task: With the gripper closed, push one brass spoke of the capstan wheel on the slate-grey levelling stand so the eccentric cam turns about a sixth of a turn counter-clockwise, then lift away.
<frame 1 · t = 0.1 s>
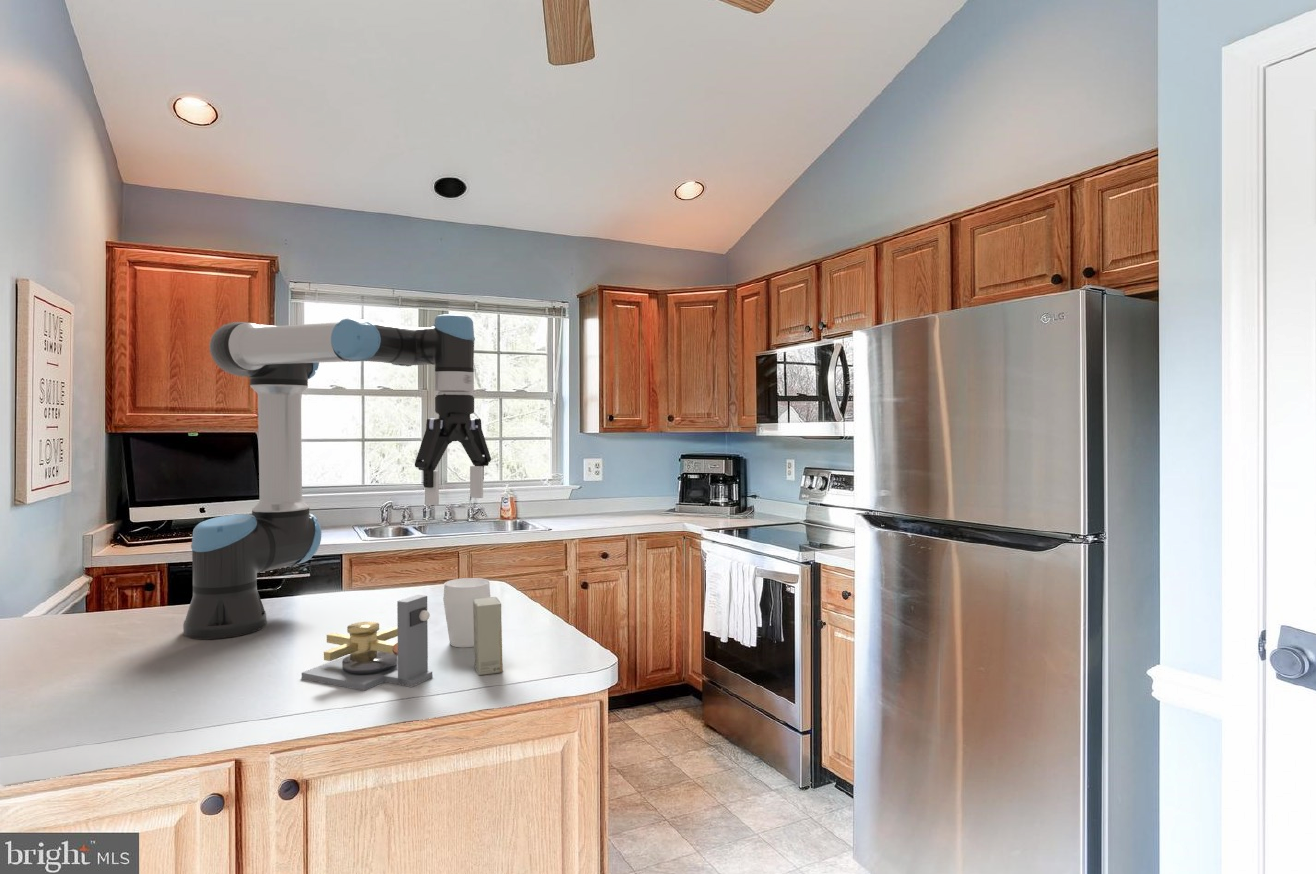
hand: (455, 501, 150), 28 cm above the counter, fingers open, 13 cm apart
stand: (363, 671, 132), on the counter
skincare box: (487, 670, 134), on the counter
cup: (467, 643, 149), on the counter
capstan: (365, 645, 132), point 5 cm above the counter, hinge at 0.0°
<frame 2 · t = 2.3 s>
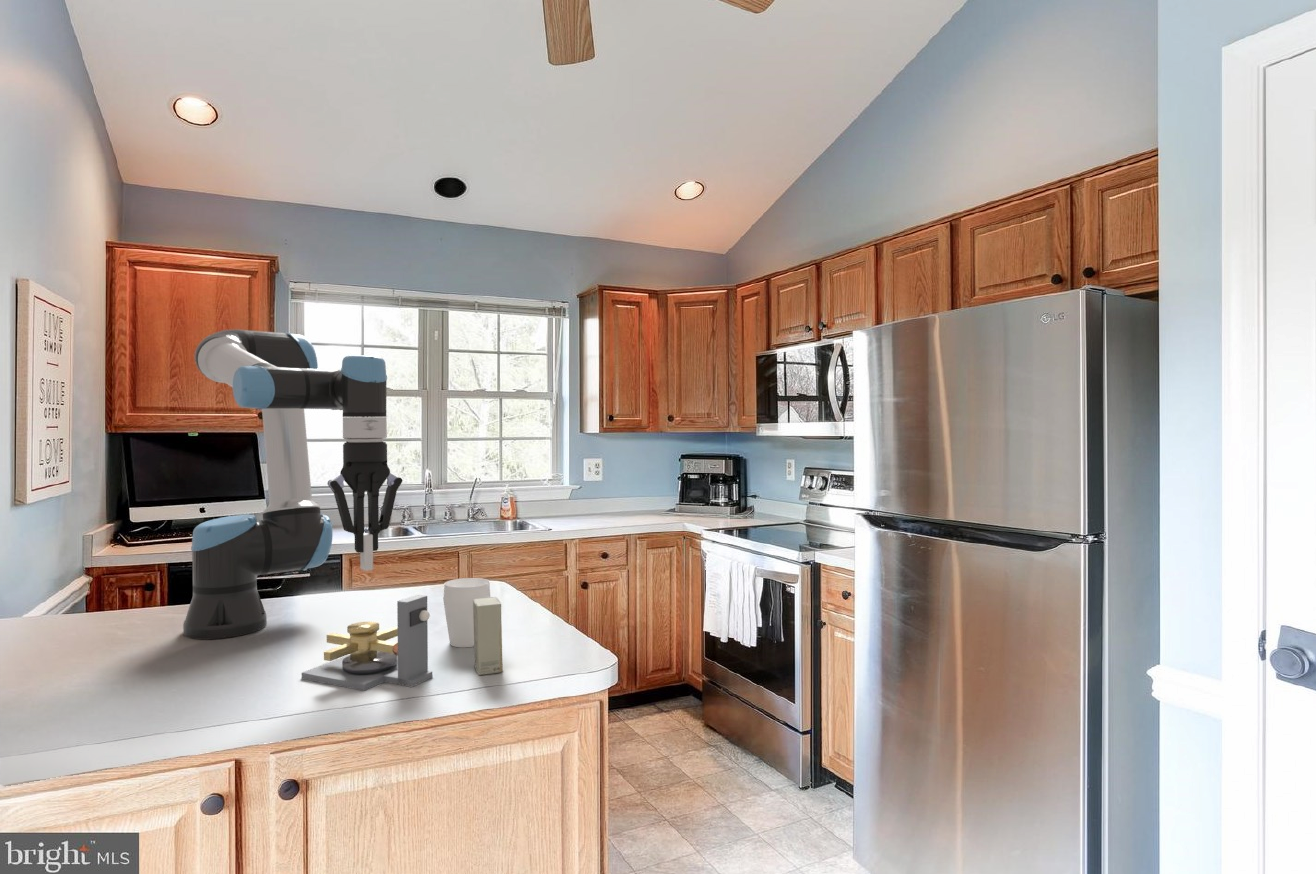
hand: (366, 569, 138), 17 cm above the counter, fingers closed
nothing on the counter moved.
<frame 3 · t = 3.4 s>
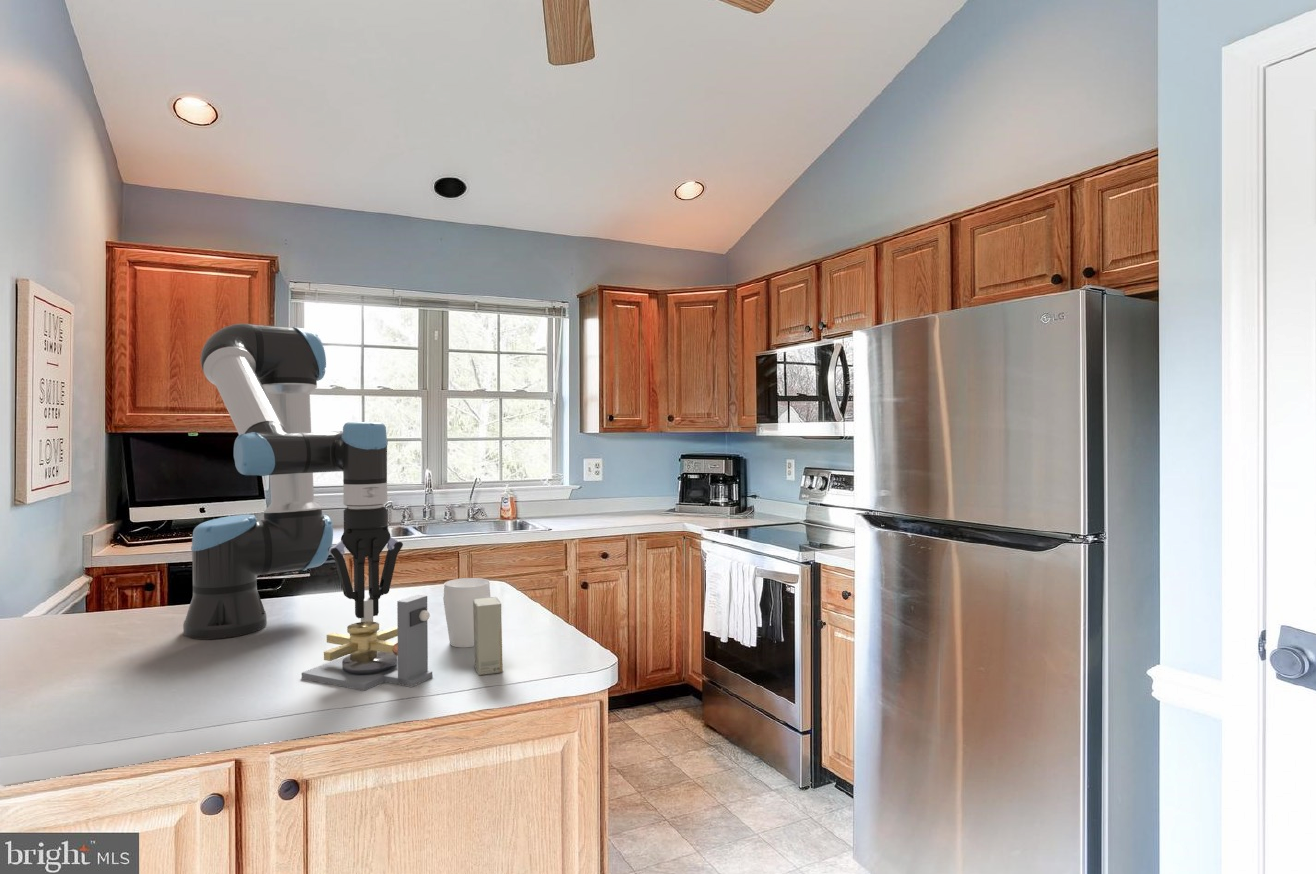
hand: (367, 634, 138), 5 cm above the counter, fingers closed
nothing on the counter moved.
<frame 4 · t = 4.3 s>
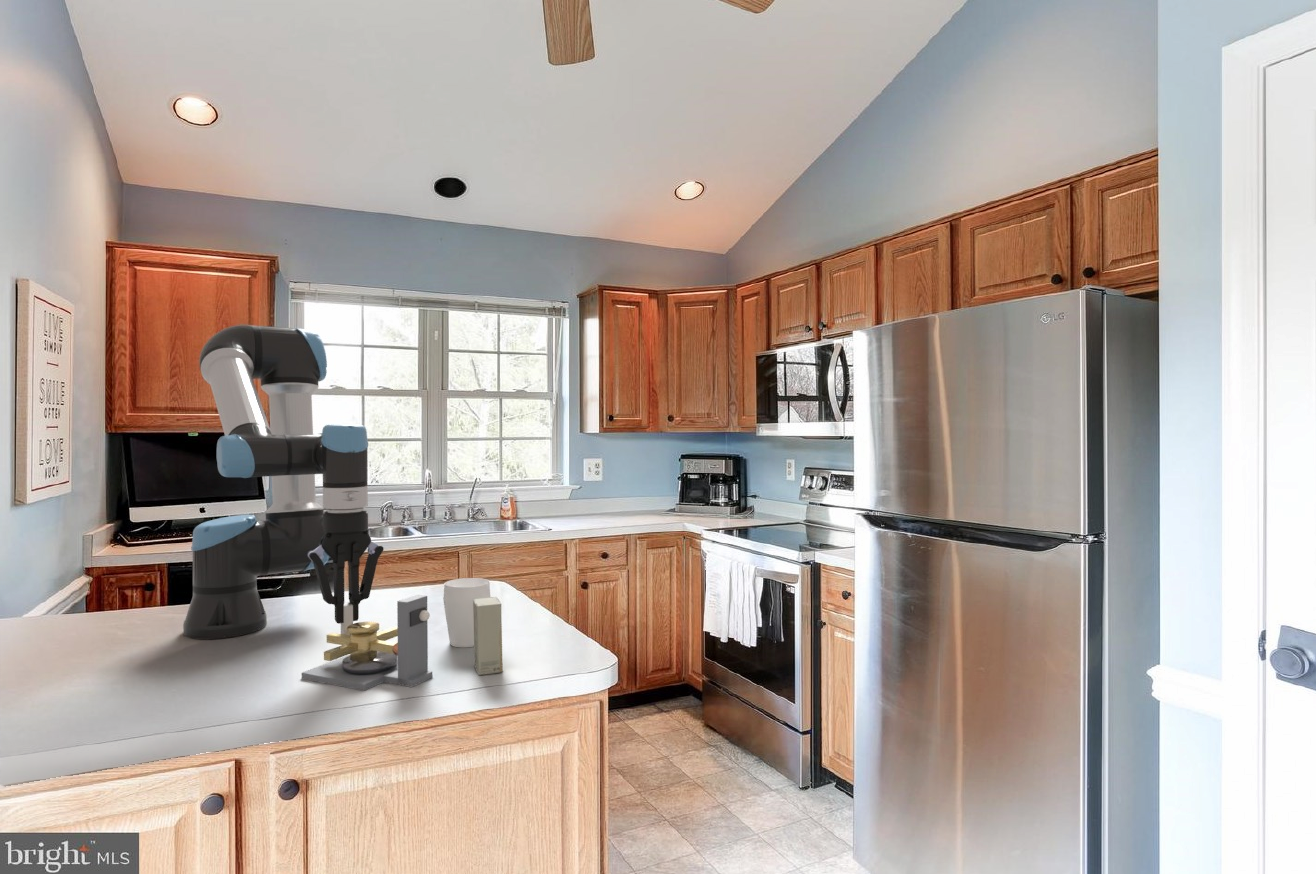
hand: (346, 639, 136), 4 cm above the counter, fingers closed
capstan: (365, 645, 132), point 5 cm above the counter, hinge at 0.0°, touching gripper
everything else where it was.
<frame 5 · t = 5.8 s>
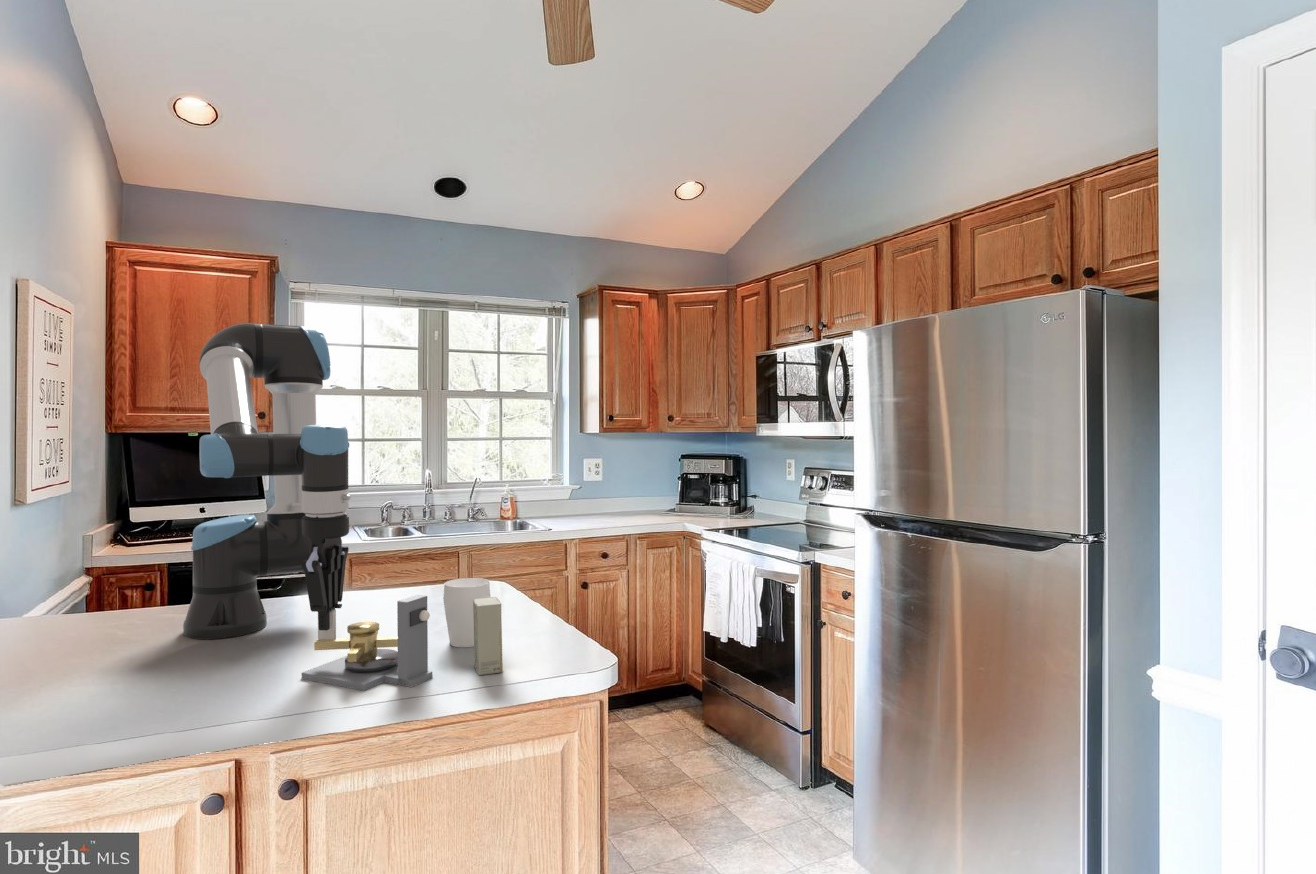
hand: (327, 646, 132), 4 cm above the counter, fingers closed
capstan: (366, 644, 132), point 5 cm above the counter, hinge at 32.2°, touching gripper
everything else where it was.
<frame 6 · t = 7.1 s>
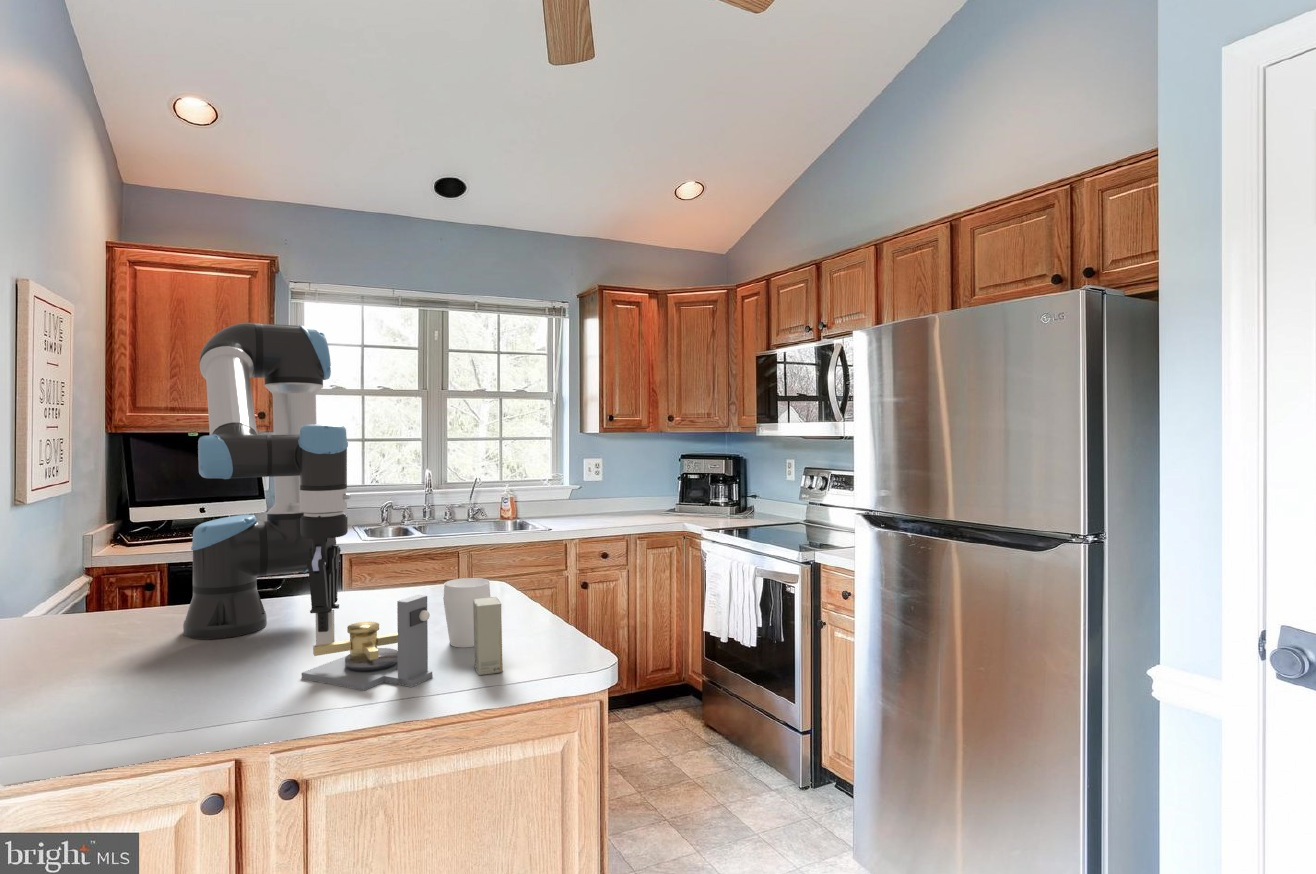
hand: (325, 648, 131), 4 cm above the counter, fingers closed
capstan: (366, 644, 132), point 5 cm above the counter, hinge at 56.8°
everything else where it was.
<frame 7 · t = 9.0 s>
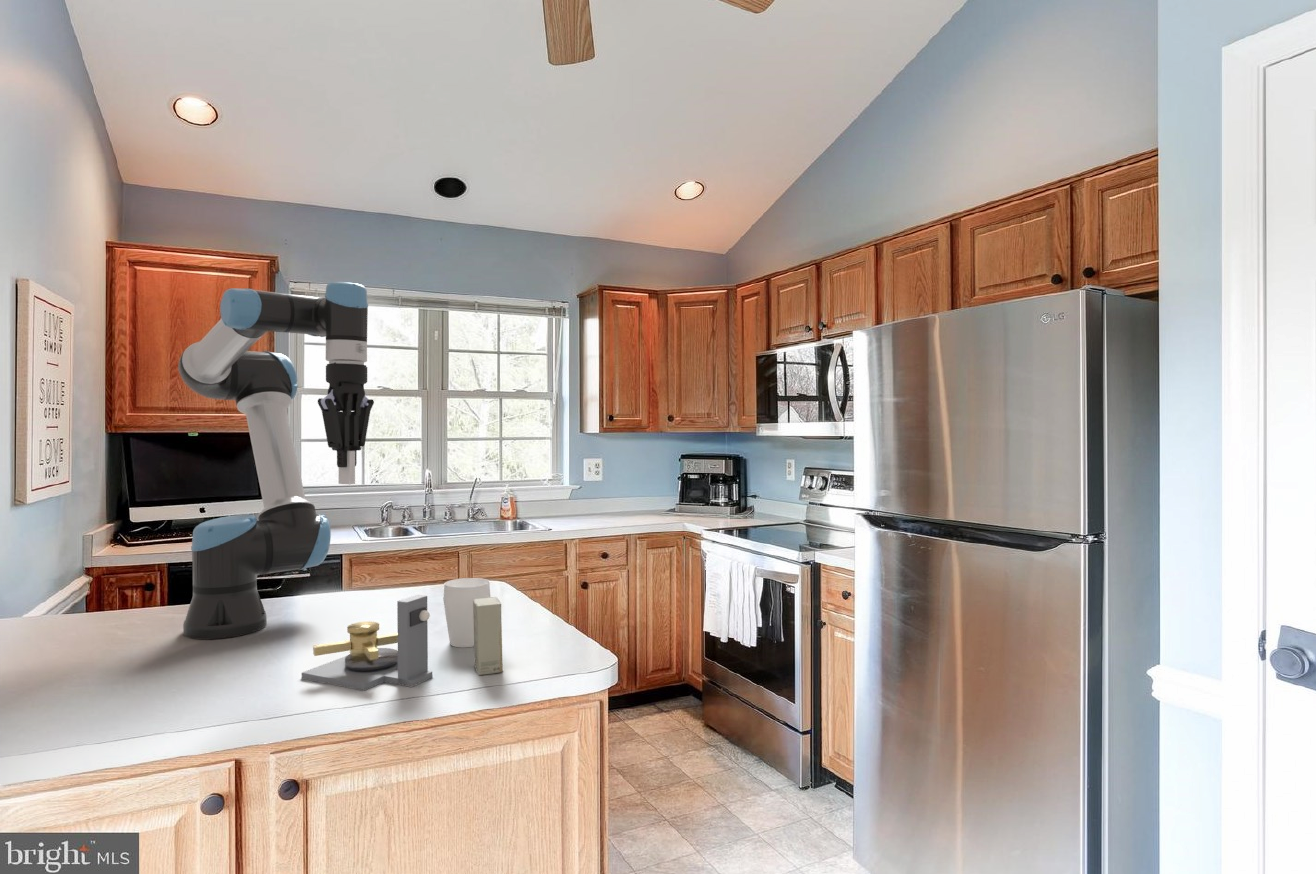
hand: (346, 483, 148), 32 cm above the counter, fingers closed
nothing on the counter moved.
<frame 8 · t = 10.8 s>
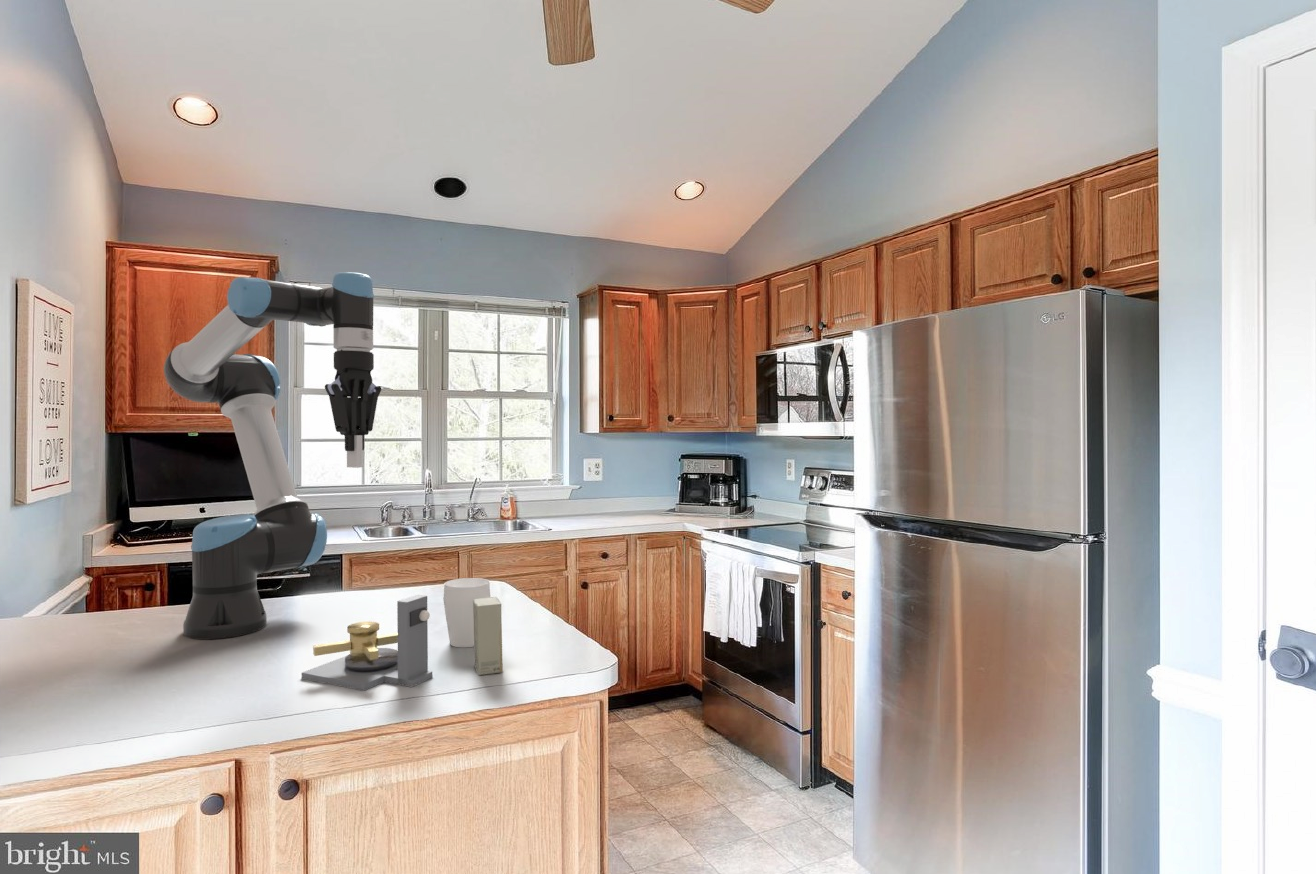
hand: (354, 467, 153), 34 cm above the counter, fingers closed
nothing on the counter moved.
at the end: capstan at +57° (first picture: +0°) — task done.
